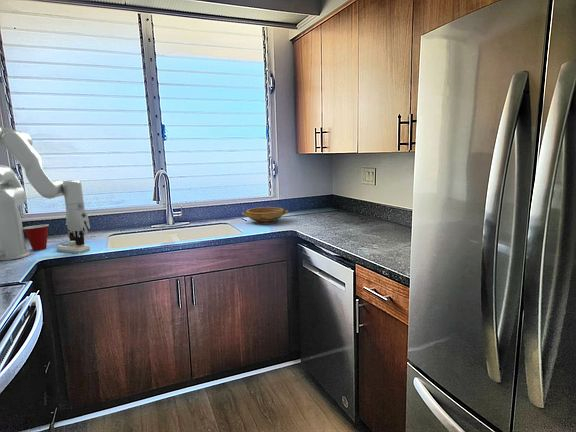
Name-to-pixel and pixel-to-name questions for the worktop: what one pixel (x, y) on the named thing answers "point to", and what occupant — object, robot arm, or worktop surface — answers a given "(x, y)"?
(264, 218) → the ceramic bowl
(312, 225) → the worktop surface
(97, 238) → the worktop surface
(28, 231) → the plastic cup
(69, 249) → the keypad
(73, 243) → the sage key
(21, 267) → the worktop surface
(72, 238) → the coffee mug
